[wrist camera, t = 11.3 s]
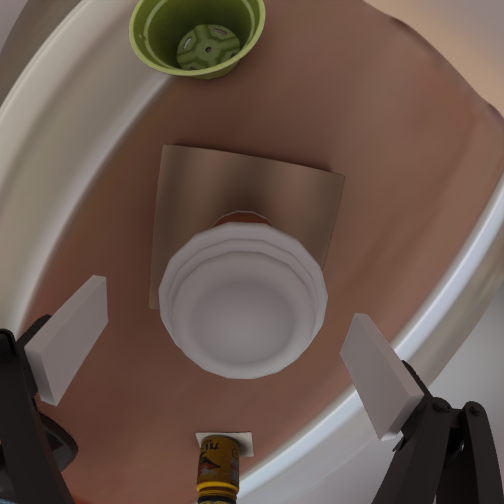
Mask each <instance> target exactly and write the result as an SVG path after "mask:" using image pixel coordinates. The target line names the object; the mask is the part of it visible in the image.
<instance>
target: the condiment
mask: <svg viewBox="0 0 504 504" xmlns="http://www.w3.org/2000/svg"><path fill="white" fill-rule="evenodd" d="M195 434H196V437H197V440H198V443H199V445H200V456H199V465H198V477H197V483H196V484H197V491H198V492H199V493H198V501H197V502H198V504H236V499H237V496H236V495H237V494H238V492H239V457H240V456H245V457H250V456H254V454H253V445H252V436H251V432H247V433H195ZM238 439H239V440H238Z"/></svg>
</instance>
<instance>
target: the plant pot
mask: <svg viewBox="0 0 504 504" xmlns="http://www.w3.org/2000/svg"><path fill="white" fill-rule="evenodd" d="M264 23H265V7H264V3H263V0H140V1H139V3H138V4H137V5H136V7H135V9H134V11H133V14H132V16H131V19H130V24H129V37H130V42H131V46H132V48H133V50H134V52H135V53H136V55H137V56H138V57H139V58H140V59H141V60H142V61H143V62H144V63H145V64H147V65H148V66H150V67H151V68H153V69H155V70H157V71H160V72H163V73H166V74H171V75H177V76H191V77H193V78H197V79H203V80H209V79H214V78H218V77H220V76H223V75H225V74H227V73H228V72H230V71H231V70H232V69H233V68H234V67H235V66H236V64H237V63H238V61H239V60H240V59H241V58H242V57H244V56H245V55H246V54H247V53H248V52H249V51H250V50H251V49H252V48H253V47H254V45H255V44H256V42H257V41H258V39H259V37H260V35H261V33H262V30H263V27H264ZM215 29H218V30H223V31H225V32H226V33H227V34H226V35H223V34H221V33H219V32H216V31H214V30H215ZM190 37H191V38H192V39H191V40H190V42H189V43H188V45H187V46H186V48H185V49H184V48H183V46H184V44H185V42H186V40H187V39H188V38H190ZM208 47H209V48H211V51H209V52H206V48H208ZM233 53H234V54H235V56H234V57H233V58H231V56H232V54H233ZM230 58H231V59H230ZM191 67H193V68H195V69H197V70H191V69H190V68H191Z"/></svg>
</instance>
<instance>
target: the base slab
mask: <svg viewBox="0 0 504 504" xmlns="http://www.w3.org/2000/svg"><path fill="white" fill-rule="evenodd" d="M344 180H345V176H343V175H340V174H336V173H333V172H329V171H325V170H320V169H316V168H311V167H307V166H302V165H297V164H293V163H288V162H283V161H278V160H272V159H267V158H262V157H256V156H250V155H244V154H238V153H232V152H226V151H219V150H212V149H205V148H197V147H190V146H181V145H171V144H163V148H162V155H161V162H160V169H159V177H158V185H157V194H156V203H155V213H154V224H153V236H152V250H151V266H150V289H149V309H152V310H157V311H160V302H159V291H158V289H159V287H160V284H161V281H162V279H163V276H164V273H165V271H166V268H167V265H168V263H169V260H170V259H171V257H172V256H173V255H174V254H175V253H176V252H177V251H178V250H179V249H180V248H181V247H182V246H183V245H185V244H186V243H187V242H188V241H189V240H190V239H191V238H192V237H193V236H194V235H195V234H197V233H200V232H202V231H205V230H208V229H210V227H211V226H212V225H213V224H214V223H215V222H216V221H217V220H218V219H219V218H220V217H221V216H223V215H226V214H228V213H231V212H234V211H253V212H255V213H257V214H259V215H262V216H264V217H266V218H267V219H268V220H269V221H270V222H271V223H272V225H273V226H274V227H275V228H276V229H278V230H280V231H282V232H284V233H286V234H288V235H290V236H293V237H295V238H297V239H298V241H299V242H300V243H301V244H302V245H303V246H304V247H305V249H306V250H307V251H308V252H309V253H310V254H311V256H312V257H313V258H314V259H315V260H316V261H317V263H318V264H319V266H320V268H321V271H322V270H323V266H324V262H325V259H326V255H327V251H328V247H329V243H330V239H331V235H332V231H333V227H334V223H335V219H336V215H337V211H338V206H339V202H340V198H341V193H342V189H343V184H344Z"/></svg>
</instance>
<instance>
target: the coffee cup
mask: <svg viewBox="0 0 504 504" xmlns="http://www.w3.org/2000/svg"><path fill="white" fill-rule="evenodd" d="M158 291H159V302H160V313H161V320H162V322H163V323H164V325H165V327H166V329H167V331H168V332H169V334H170V336H171V338H172V339H173V341H174V343H175V344H176V345H177V346H178V347H179V348H180V349H182V351H183V353H184V354H185V355H186V356H187V357H188V358H190V359H191V360H192V361H193V362H195V363H196V364H197V365H198V366H200V367H201V368H202V369H204V370H206V371H209V372H212V373H214V374H217V375H220V376H223V377H226V378H239V379H255V378H258V377H262V376H266V375H269V374H273V373H276V372H279V371H280V370H282V369H283V368H285V367H286V366H288V365H289V364H291V363H292V362H293V361H295V360H296V359H298V358H299V356H300V355H301V354H302V352H303V351H304V350H306V349H307V347H308V346H309V345H310V343H311V342H312V340H313V339H314V337H315V336H316V334H317V333H318V331H319V330H320V328H321V327H322V325H323V321H324V316H325V311H326V305H327V300H328V294H327V290H326V286H325V282H324V279H323V275H322V271H321V268H320V266H319V264H318V263H317V261H316V260H315V259H314V258H313V257H312V256H311V254H310V253H309V252H308V251H307V250H306V249H305V247H304V246H303V245H302V244H301V243H300V242H299V241H298V239H297V238H295V237H293V236H290V235H288V234H286V233H284V232H282V231H280V230H278V229H276V228H275V227H274V226H273V225H272V223H271V222H270V221H269V220H268V219H267V218H266V217H264V216H262V215H259V214H257V213H255V212H253V211H234V212H231V213H228V214H226V215H223V216H221V217H220V218H219V219H218V220H217V221H216V222H215V223H214V224H213V225H212V226H211V227H210V229H208V230H205V231H202V232H200V233H197V234H195V235H194V236H193V237H192V238H191V239H190V240H189V241H188V242H187V243H186V244H185V245H183V246H182V247H181V248H180V249H179V250H178V251H177V252H176V253H175V254H174V255H173V256H172V257H171V259H170V260H169V263H168V265H167V268H166V271H165V273H164V276H163V279H162V281H161V284H160V287H159V289H158Z"/></svg>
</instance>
